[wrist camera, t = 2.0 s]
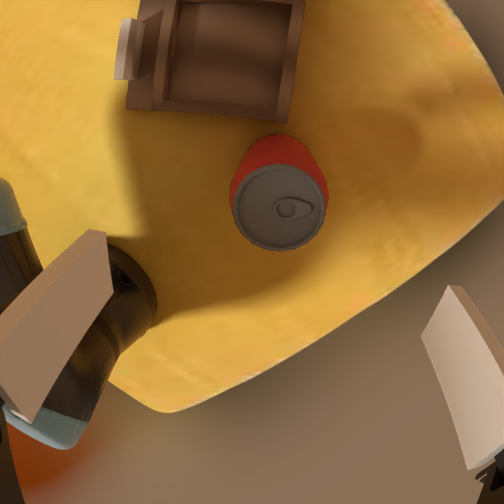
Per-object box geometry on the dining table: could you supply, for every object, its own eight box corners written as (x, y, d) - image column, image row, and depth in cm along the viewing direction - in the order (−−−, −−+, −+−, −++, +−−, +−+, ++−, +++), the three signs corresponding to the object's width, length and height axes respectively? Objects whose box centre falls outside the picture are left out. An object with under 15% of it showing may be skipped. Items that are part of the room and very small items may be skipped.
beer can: (312, 198, 29) (331, 258, 19) (246, 199, 30) (228, 260, 19) (312, 132, 26) (336, 155, 16) (241, 134, 27) (218, 158, 16)
